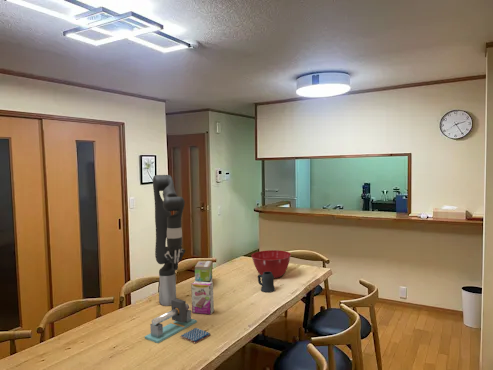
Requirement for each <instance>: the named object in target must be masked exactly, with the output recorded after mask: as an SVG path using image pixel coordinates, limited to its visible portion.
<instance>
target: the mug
mask: <svg viewBox="0 0 493 370" xmlns="http://www.w3.org/2000/svg"><path fill="white" fill-rule="evenodd" d="M274 281H275V278H274V276H273V274H272V272H268V271H267V272H263V275H260V274H258V275H257V282H258V284H259V285H260V286H261V287H260V291H261V292H262V293H269V294H270V293H273V292H275V291H276V287H275V284H274V283H275V282H274Z"/></svg>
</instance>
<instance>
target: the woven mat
mask: <svg viewBox="0 0 493 370" xmlns="http://www.w3.org/2000/svg"><path fill="white" fill-rule="evenodd" d="M210 336H211V332H210V331H207V330H203V329H201V328H198V327H194V328H193V329H191V330H189V331H187V332H184V333H183V334H181V336H180V338H181V339H182V340H184V341H188V342H189V343H192V344H194V345H195V344H197V343H199V342H201V341H203V340H205V339H206V338H208V337H210Z"/></svg>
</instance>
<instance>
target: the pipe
mask: <svg viewBox="0 0 493 370" xmlns="http://www.w3.org/2000/svg"><path fill="white" fill-rule="evenodd" d="M178 314H179V308H175V309H173V310H172V309H170V310H169V311H167V312H165V313H163V314H161V315H158V316H156V317H154V318H152V319H151V323H150V326H149V327H150V333H151V336H153V337H156V338H160V337H162V336H163V327H164V325H163V322H165V321H167V320H169V319H172V317H173V316H175V315H178ZM191 319H192V309H190V305H189V304H188V303H187V302H186V321H185V322H186V323H188V322H190V321H191Z"/></svg>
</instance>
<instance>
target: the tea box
mask: <svg viewBox="0 0 493 370" xmlns="http://www.w3.org/2000/svg"><path fill="white" fill-rule="evenodd" d="M194 281H199V282H212V283H213V261H212V260H202V261H201V260H198V261H197V263H196V264H195V266H194Z"/></svg>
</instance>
